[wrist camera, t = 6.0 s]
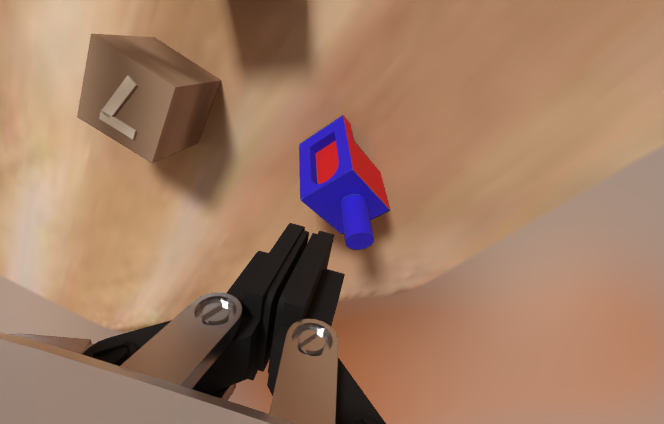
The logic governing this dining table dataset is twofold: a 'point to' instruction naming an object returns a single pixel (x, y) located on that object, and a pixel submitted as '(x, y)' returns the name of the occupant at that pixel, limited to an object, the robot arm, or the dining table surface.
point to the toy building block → (341, 183)
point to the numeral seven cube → (145, 95)
